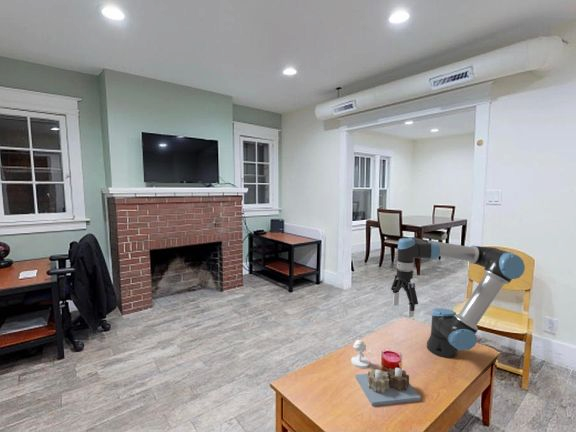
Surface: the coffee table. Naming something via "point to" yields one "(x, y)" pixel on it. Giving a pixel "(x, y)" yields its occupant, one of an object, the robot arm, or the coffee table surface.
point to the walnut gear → (398, 380)
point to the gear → (378, 382)
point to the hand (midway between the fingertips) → (402, 310)
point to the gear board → (391, 394)
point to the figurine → (360, 355)
